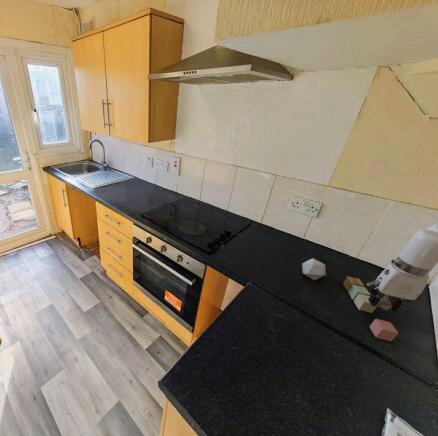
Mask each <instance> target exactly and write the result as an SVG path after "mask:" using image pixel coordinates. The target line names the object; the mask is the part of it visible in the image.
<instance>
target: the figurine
mask: <svg viewBox="0 0 438 436" xmlns="http://www.w3.org/2000/svg"><path fill="white" fill-rule="evenodd" d="M379 298H380V301H379V302H378V303H377V305H376V306H377V307H378V308H380V309H381V310H382V311H388V310H390V309H391V308H392V305H391V303H390V301H391V299H389V295H386V294H384V295H383V297H379Z"/></svg>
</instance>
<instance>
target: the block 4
mask: <svg viewBox="0 0 438 436" xmlns="http://www.w3.org/2000/svg"><path fill="white" fill-rule="evenodd" d="M369 329H370V330H371V332H372V334H373V336H374V337H375V338H376V339H380V340H384V341H387V342H392V341H393V340H395V338H396V337H397V336H398V334H399V332H398V331H397V329H396V328H395V325H393V323H392V322H390V321H386V320H383V319H378V318H375V319H374V320H373V321H372V323H371V324H370V325H369Z"/></svg>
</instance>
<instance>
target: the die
mask: <svg viewBox="0 0 438 436" xmlns="http://www.w3.org/2000/svg"><path fill="white" fill-rule="evenodd" d="M301 269H302V274H303V275H305V276H306V277H308V278H310V279H311V280H313V281H317V280H318V279H320V278H323V277H324V276H326V275H327V273H326V264H324V263H323V262H321V261H320V260H317V259H315V258H313V257H312V258H311V259H308V260H306V261H304V262H303V263H301Z"/></svg>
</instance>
